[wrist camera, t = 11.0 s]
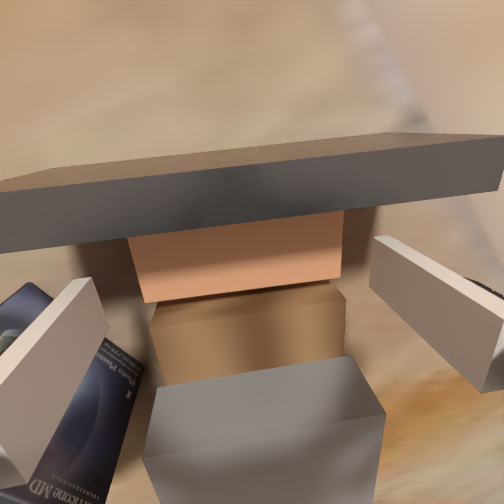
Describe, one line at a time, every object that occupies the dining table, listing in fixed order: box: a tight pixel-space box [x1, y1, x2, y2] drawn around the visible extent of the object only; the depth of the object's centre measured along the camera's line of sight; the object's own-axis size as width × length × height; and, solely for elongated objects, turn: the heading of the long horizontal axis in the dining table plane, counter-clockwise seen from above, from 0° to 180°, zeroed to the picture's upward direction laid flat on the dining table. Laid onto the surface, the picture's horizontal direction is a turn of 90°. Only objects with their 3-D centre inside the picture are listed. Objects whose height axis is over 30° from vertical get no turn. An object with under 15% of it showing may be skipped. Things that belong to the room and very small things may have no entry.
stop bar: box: [0, 133, 504, 254], centre depth 13 cm, size 20×2×8 cm, turn 95°
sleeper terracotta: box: [127, 210, 344, 303], centre depth 17 cm, size 11×4×4 cm, turn 94°
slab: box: [142, 355, 386, 504], centre depth 18 cm, size 12×14×4 cm
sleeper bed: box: [149, 279, 346, 386], centre depth 22 cm, size 11×19×5 cm, turn 5°
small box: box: [0, 282, 145, 504], centre depth 16 cm, size 11×6×10 cm, turn 37°
